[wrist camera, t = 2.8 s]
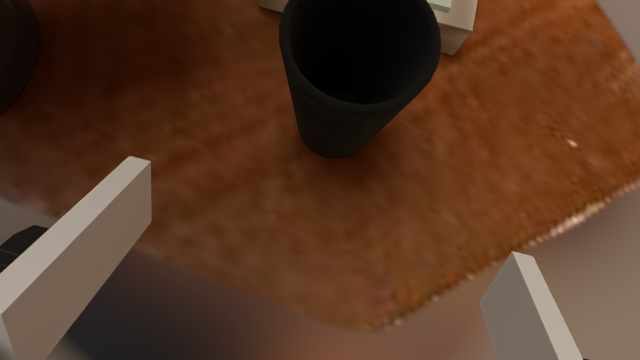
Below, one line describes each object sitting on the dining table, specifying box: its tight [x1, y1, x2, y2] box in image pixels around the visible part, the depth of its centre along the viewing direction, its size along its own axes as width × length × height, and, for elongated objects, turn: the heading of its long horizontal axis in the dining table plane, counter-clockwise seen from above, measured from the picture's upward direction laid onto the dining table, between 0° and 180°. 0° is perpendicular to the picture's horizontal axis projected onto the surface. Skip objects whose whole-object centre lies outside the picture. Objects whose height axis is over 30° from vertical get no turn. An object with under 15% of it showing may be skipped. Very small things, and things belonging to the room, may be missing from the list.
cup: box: [279, 0, 441, 159], centre depth 25 cm, size 8×8×12 cm
